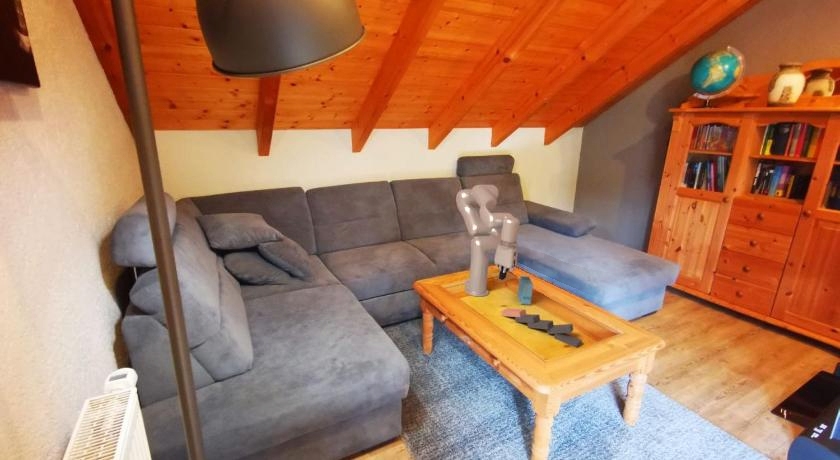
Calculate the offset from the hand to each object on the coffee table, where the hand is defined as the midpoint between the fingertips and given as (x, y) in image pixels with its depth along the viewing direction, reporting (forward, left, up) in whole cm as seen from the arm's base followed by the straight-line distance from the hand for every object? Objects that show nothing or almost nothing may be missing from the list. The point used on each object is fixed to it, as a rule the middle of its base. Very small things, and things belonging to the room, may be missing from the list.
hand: (502, 278), depth 194 cm
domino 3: (+19, -2, -15) cm, 24 cm away
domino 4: (+27, 0, -15) cm, 31 cm away
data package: (+1, +21, -17) cm, 27 cm away
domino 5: (+32, -1, -16) cm, 35 cm away
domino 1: (+5, -1, -15) cm, 16 cm away
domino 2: (+12, -2, -15) cm, 20 cm away
